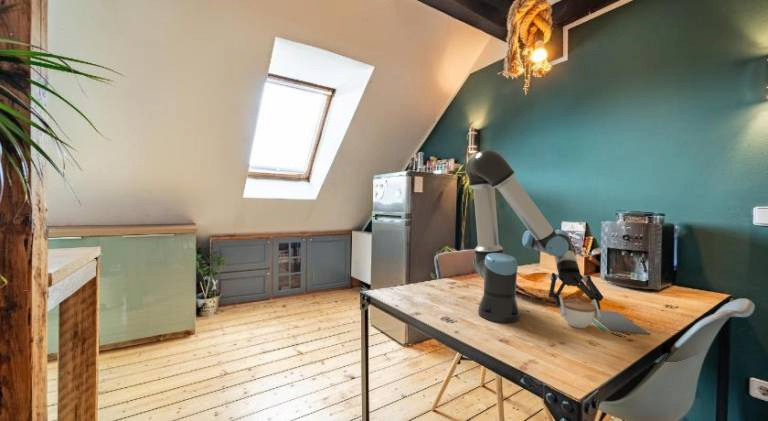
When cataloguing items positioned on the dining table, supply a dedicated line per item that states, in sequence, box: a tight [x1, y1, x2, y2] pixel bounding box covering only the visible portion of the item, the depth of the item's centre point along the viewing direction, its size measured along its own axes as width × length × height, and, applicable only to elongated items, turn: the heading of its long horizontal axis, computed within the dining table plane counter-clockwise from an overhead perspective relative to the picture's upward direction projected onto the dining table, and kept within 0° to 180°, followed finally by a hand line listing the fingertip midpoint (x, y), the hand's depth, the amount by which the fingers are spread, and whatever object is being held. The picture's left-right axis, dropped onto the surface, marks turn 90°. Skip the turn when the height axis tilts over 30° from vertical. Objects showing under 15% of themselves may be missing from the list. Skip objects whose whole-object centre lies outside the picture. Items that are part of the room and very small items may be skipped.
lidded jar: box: [562, 298, 596, 329], centre depth 118 cm, size 11×11×9 cm
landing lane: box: [592, 309, 651, 335], centre depth 124 cm, size 15×24×1 cm, turn 169°
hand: (580, 316), depth 115 cm, fingers closed on lidded jar, 11 cm apart
